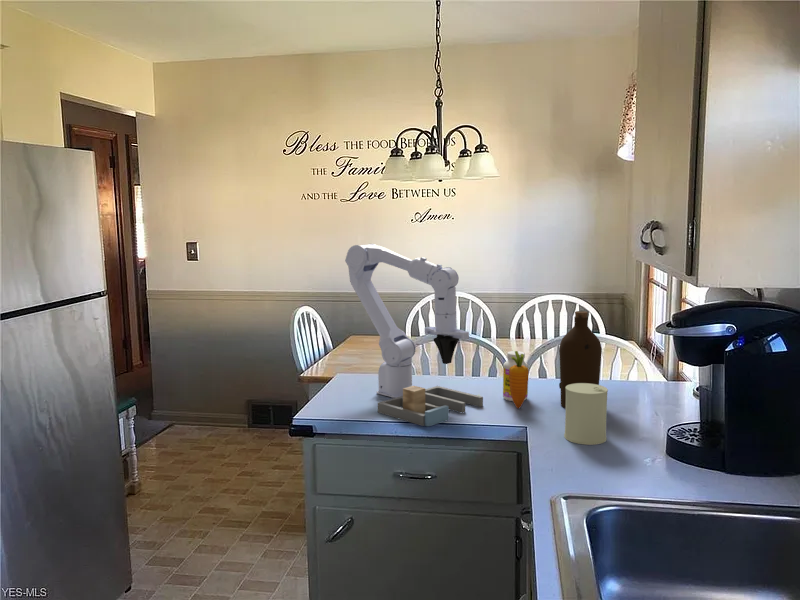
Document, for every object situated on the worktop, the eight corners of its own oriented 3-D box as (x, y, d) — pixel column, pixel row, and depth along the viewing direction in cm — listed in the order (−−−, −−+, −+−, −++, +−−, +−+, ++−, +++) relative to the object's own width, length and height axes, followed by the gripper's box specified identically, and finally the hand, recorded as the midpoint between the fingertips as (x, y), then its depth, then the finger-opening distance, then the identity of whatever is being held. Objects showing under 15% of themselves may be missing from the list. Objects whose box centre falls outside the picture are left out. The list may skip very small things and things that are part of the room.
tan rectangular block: (403, 415, 166) (402, 388, 165) (414, 412, 169) (413, 385, 168) (414, 418, 163) (414, 391, 162) (425, 415, 166) (425, 388, 165)
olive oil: (608, 407, 171) (611, 312, 168) (580, 414, 165) (583, 316, 162) (577, 398, 180) (579, 307, 177) (549, 404, 174) (551, 311, 171)
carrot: (527, 411, 168) (528, 354, 166) (508, 410, 169) (508, 353, 167) (528, 406, 173) (528, 350, 171) (508, 405, 174) (509, 349, 172)
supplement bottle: (500, 400, 178) (500, 354, 176) (506, 394, 184) (506, 349, 183) (525, 403, 176) (525, 356, 174) (529, 396, 182) (530, 351, 180)
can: (600, 447, 142) (601, 393, 140) (558, 440, 147) (559, 388, 145) (611, 435, 150) (612, 384, 148) (571, 428, 155) (572, 379, 153)
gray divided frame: (377, 412, 169) (377, 398, 169) (437, 394, 185) (437, 382, 184) (426, 427, 157) (426, 413, 156) (486, 407, 172) (486, 394, 172)
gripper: (416, 313, 178) (417, 362, 180) (455, 317, 168) (456, 369, 169) (434, 309, 183) (435, 357, 185) (473, 314, 172) (474, 364, 174)
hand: (447, 363), depth 177 cm, fingers closed
